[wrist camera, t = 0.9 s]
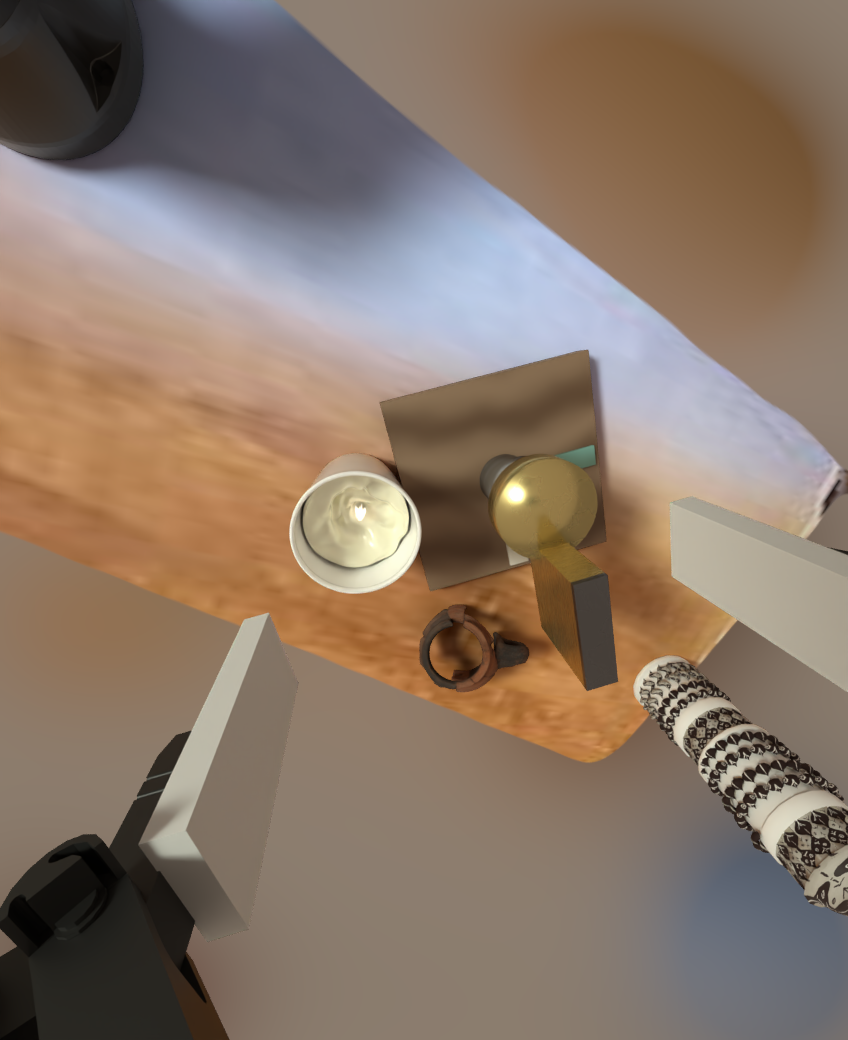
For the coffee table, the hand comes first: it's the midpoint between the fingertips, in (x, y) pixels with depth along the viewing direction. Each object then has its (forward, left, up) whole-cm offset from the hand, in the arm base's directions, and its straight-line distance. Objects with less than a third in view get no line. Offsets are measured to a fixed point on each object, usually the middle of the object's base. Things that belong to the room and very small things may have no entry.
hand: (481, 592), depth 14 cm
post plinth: (+6, +9, -31) cm, 32 cm away
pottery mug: (+24, +2, -31) cm, 39 cm away
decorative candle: (+40, +26, -31) cm, 57 cm away
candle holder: (+4, -5, -31) cm, 31 cm away
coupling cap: (+10, +9, -20) cm, 24 cm away
